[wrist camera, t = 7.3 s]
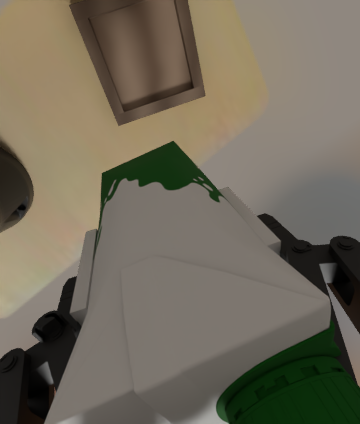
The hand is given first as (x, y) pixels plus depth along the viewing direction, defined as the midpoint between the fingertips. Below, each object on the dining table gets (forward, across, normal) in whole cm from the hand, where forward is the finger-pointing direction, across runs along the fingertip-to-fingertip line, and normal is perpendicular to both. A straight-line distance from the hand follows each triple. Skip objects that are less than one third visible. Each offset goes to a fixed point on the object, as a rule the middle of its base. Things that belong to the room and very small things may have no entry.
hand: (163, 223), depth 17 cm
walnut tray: (+26, +4, +11) cm, 28 cm away
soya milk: (+7, 0, 0) cm, 7 cm away
